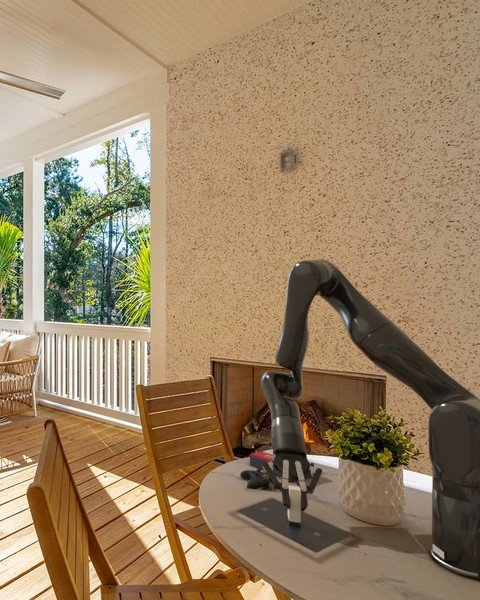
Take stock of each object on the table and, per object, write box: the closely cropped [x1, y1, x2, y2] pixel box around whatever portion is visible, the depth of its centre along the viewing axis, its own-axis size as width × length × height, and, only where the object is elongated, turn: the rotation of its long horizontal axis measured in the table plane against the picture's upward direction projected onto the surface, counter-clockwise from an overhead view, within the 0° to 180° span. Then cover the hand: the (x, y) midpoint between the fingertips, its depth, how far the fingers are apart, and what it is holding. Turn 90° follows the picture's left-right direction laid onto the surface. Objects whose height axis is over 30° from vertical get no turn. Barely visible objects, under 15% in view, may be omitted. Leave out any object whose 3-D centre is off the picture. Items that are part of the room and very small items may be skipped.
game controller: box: [239, 468, 271, 490], centre depth 123 cm, size 10×5×6 cm
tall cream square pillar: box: [288, 484, 301, 526], centre depth 100 cm, size 2×2×8 cm
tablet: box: [236, 497, 354, 554], centre depth 100 cm, size 22×16×1 cm
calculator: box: [249, 448, 315, 482], centre depth 133 cm, size 11×4×15 cm
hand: (295, 508), depth 98 cm, fingers closed on tall cream square pillar, 2 cm apart
